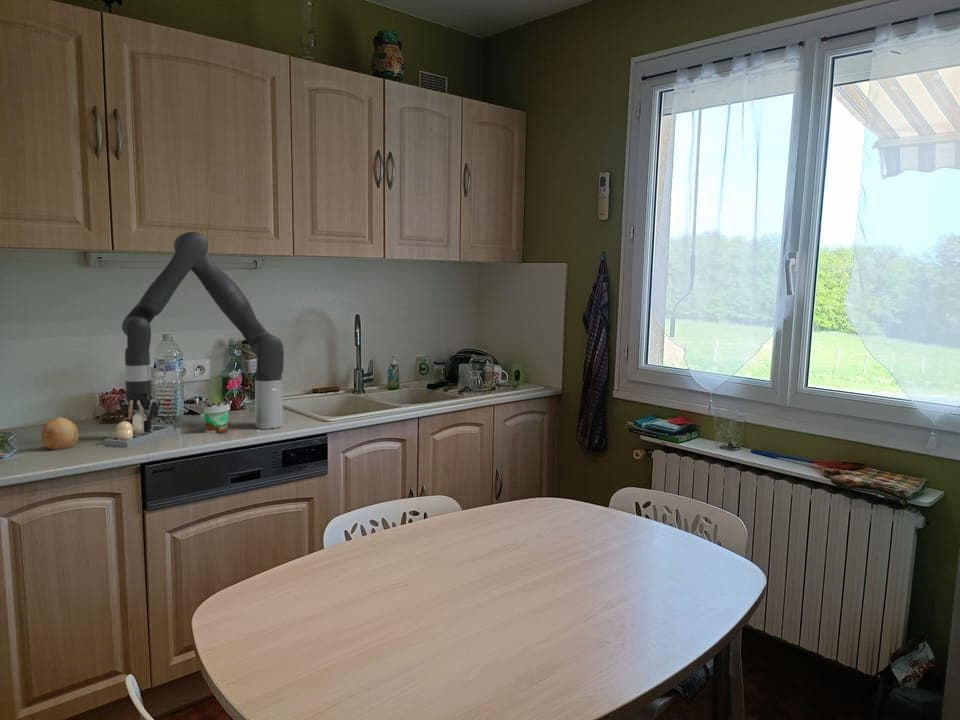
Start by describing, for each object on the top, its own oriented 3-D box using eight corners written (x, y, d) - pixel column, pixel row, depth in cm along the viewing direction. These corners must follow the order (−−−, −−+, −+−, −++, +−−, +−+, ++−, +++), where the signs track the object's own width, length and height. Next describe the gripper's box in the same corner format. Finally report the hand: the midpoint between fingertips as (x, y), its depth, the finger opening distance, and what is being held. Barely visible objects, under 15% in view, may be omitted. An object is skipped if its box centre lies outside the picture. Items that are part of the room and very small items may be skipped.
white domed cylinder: (139, 431, 218) (138, 410, 217) (151, 432, 217) (150, 411, 216) (129, 434, 213) (128, 413, 212) (141, 435, 212) (141, 413, 212)
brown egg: (124, 441, 211) (123, 419, 210) (136, 442, 210) (135, 420, 209) (113, 444, 207) (112, 422, 206) (126, 445, 206) (125, 423, 205)
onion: (73, 453, 199) (71, 421, 198) (35, 455, 197) (33, 421, 196) (84, 445, 209) (83, 414, 207) (49, 446, 206) (47, 415, 205)
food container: (222, 437, 223) (221, 407, 222) (204, 436, 224) (203, 407, 222) (236, 428, 236) (235, 401, 234) (219, 428, 236) (218, 400, 235)
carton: (149, 432, 228) (149, 424, 228) (181, 434, 226) (180, 426, 226) (96, 449, 205) (96, 440, 205) (130, 451, 203) (130, 442, 202)
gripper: (165, 378, 215) (167, 430, 217) (127, 375, 218) (129, 427, 220) (150, 381, 208) (152, 435, 210) (110, 379, 211) (112, 432, 213)
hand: (140, 430), depth 215 cm, fingers closed on white domed cylinder, 4 cm apart
